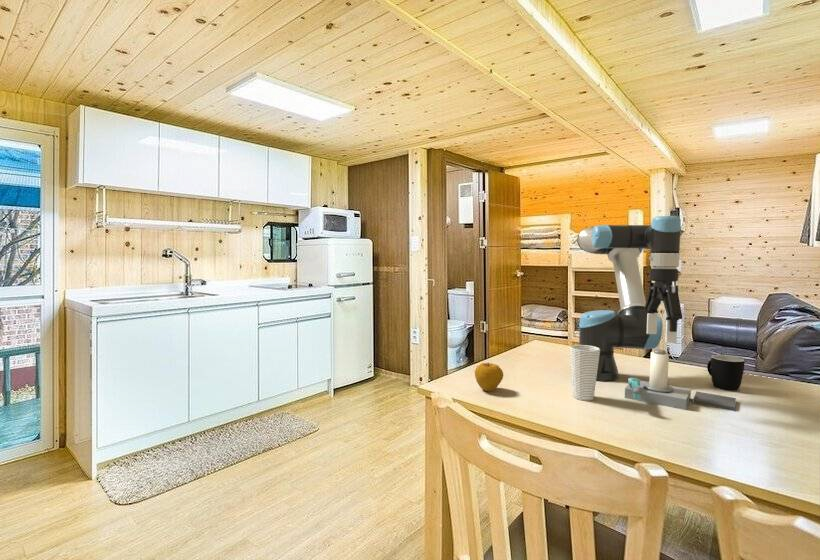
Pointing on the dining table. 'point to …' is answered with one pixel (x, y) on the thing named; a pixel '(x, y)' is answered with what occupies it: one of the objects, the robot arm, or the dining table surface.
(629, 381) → the clip
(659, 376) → the plug
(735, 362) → the mug
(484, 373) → the apple
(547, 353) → the dining table surface
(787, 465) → the dining table surface
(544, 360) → the dining table surface
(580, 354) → the cup
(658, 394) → the socket block
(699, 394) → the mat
